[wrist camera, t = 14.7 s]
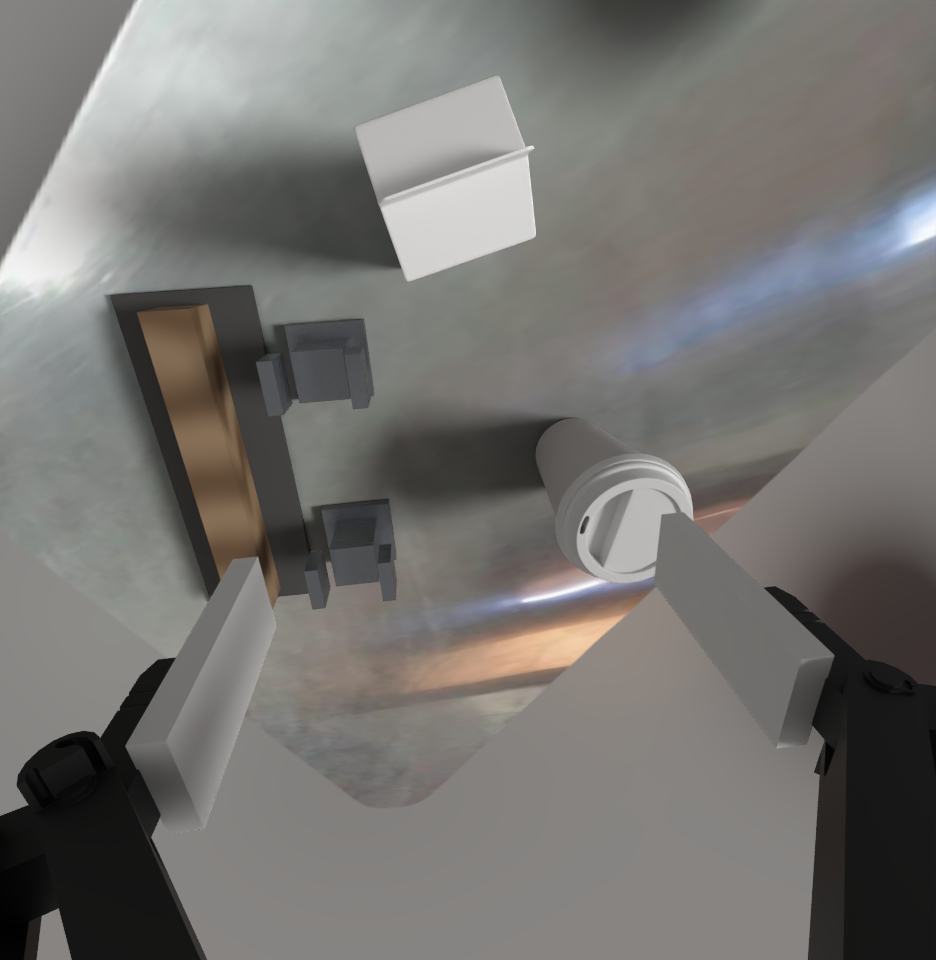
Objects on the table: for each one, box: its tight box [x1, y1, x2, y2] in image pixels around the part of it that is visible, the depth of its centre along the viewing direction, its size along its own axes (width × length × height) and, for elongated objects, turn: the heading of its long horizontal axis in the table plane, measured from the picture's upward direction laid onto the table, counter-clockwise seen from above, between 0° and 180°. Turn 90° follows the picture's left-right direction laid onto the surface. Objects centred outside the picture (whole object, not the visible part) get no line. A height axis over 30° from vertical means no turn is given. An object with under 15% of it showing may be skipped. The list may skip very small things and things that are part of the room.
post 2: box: [304, 499, 397, 609], centre depth 44 cm, size 6×7×9 cm
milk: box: [354, 75, 536, 282], centre depth 28 cm, size 6×6×22 cm
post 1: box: [256, 319, 374, 416], centre depth 37 cm, size 6×7×9 cm
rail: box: [137, 304, 281, 610], centre depth 42 cm, size 26×4×4 cm, turn 3°
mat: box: [110, 286, 310, 598], centre depth 44 cm, size 28×10×1 cm, turn 3°
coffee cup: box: [535, 418, 693, 583], centre depth 40 cm, size 10×10×15 cm
